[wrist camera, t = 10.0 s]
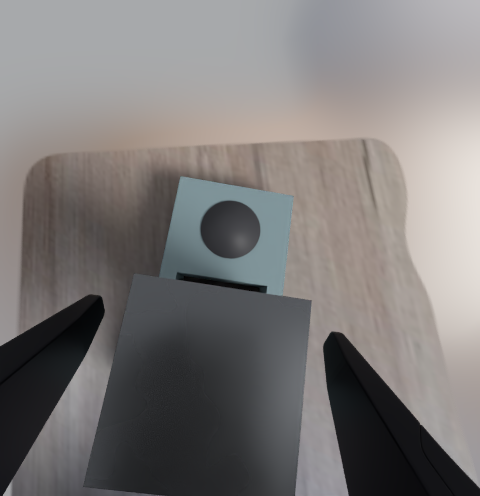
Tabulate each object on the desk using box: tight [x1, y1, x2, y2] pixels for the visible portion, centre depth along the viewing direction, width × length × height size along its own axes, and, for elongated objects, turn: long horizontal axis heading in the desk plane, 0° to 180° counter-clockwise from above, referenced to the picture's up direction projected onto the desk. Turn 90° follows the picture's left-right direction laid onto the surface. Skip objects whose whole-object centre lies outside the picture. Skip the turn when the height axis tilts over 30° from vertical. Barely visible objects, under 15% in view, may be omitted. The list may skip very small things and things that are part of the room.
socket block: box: [159, 176, 294, 296], centre depth 16 cm, size 14×8×3 cm, turn 171°
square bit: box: [83, 273, 312, 496], centre depth 11 cm, size 4×4×12 cm
